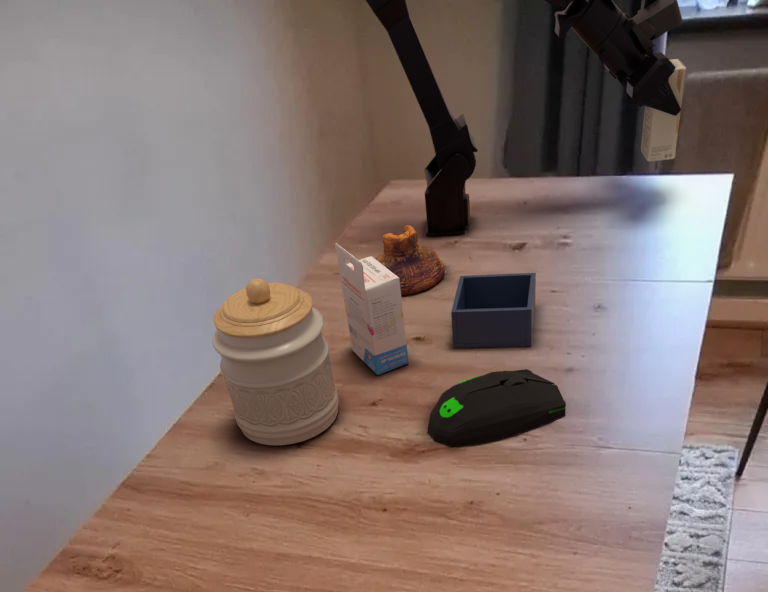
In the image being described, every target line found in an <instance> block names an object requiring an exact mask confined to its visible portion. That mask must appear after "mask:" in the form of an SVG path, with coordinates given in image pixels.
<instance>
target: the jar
mask: <svg viewBox="0 0 768 592" xmlns="http://www.w3.org/2000/svg"><path fill="white" fill-rule="evenodd" d="M313 304H314V303H313V298H312V297H311V295H310V294H309V293H307V292H306V291H305V290H303V289H300V288H297V287H294V286H292V285H289V284H287V283H283V282H267V281H266V280H264V279H263V278H259V277H256V278H252V279H250V280H249V281H248V283H247V284H246V287H243V288H241V289H239V290H238V291H235V292H234V293H232V294H231V295H230V296H229V297H227V298H226V300H225V301H224V302H223V303H222V304H221V305H220V306H219V307H218V308H217V309H216V311H215V313H214V315H213V324H214V327H215V330H214V331H213V334H212V336H211V337H212V338H211V344H212V347H213V349H214V350H215V352H217V354H219V355H220V358H221V359H220V363H219V369H220V373H221V375H222V377H223V378H224V381H225V384H226V388H227V392H228V395H229V397H230V400H231V401H230V402H231V404H232V408H233V410H232V411H233V412H232V413H233V416H234V418H235V422H236V424H237V426H238V428H239V429H240V431H241V432H242V435H244V436H245V438H247V439H249V440H250V441H253V442H254V443H257V444H261V445H265V446H287V445H293V444H299V443H302V442H305V441H307V440H310V439H313V438H314V437H316V436H318V435H320V434H322V433H323V432H324V431H326V430H328V428H329V427H330V426H331V425H332V424H333V423H334V422H335V420H336V418H337V416H338V413H339V401H340V399H339V394H338V388H337V386H336V384H335V380H334V375H333V369H332V364H331V359H330V355H329V352H330V346H329V343H328V341H327V339H326V338H325V337H324V336H323V333H322V332H323V329H324V326H325V321H324V316H323V315H322V312H320V311H319V310H318V309H317V308H315V307H314V305H313Z"/></svg>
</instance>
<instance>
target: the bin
mask: <svg viewBox="0 0 768 592" xmlns="http://www.w3.org/2000/svg"><path fill="white" fill-rule="evenodd" d="M536 277H537V273H536V272H520V273H517V272H516V273H500V274H499V273H496V274H495V273H493V274H492V273H491V274H470V275H469V274H468V275H460V276H459V279H458V283H457V287H456V291H455V295H454V300H453V304H452V308H451V311H450V316H451V329H452V345H453V348H454V349H465V348H467V349H468V348H470V349H471V348H512V347H532V343H533V333H534V326H535V325H534V324H535V314H536V290H537V289H536V287H537V286H536V284H537V283H536V279H537V278H536Z"/></svg>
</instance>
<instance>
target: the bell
mask: <svg viewBox="0 0 768 592" xmlns="http://www.w3.org/2000/svg"><path fill="white" fill-rule="evenodd" d="M381 239H382V240H381V241H382V245H383V252H381V254H379V255H378V256H376V257H375V258H374V259H376V260H377V261H378V262H380V263H381V264H382V265H383V266H385V267H386V268H387V269H388V270H390V271H391V272H392V273H394V274H395V275H396V276H398V277H399V280H400V290H401V296H405V295H412V294H417V293H421V292H423V291H425V290H428V289H430V288H432V287H433V286H435V285H437V284H438V283H439V282H440V281H441V280H442V279H443V278H444V276H445V272H446V267H445V265H444V262H443V260H442V258H441V257H440V256H439V255H438V253H437V252H436V251H435V250H433V249H432V248H430V247H428V246H425V245H421V244H420V243H419V235H418V232H417V230H416V229H415V228H414V227H413V226H411V225H408V224H406V225H404V226H403V227H402V233H401V234H398V235H397V234H394V233H392V232H386V233H384V234H383V235H382V238H381Z"/></svg>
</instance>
